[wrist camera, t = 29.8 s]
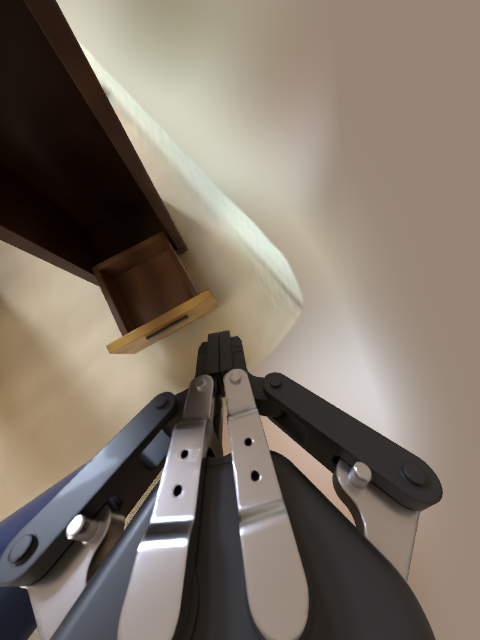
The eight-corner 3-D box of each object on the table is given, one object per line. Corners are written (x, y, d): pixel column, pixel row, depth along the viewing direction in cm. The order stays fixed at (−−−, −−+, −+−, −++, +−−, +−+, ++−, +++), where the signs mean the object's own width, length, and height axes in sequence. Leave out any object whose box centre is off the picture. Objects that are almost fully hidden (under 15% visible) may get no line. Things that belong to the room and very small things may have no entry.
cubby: (108, 291, 26) (-679, -79, 4) (81, 231, 27) (-552, -249, 6) (187, 249, 27) (-69, -235, 5) (156, 194, 28) (-133, -334, 7)
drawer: (135, 356, 22) (110, 356, 18) (102, 283, 24) (72, 268, 20) (219, 308, 23) (214, 298, 19) (181, 242, 25) (169, 220, 21)
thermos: (119, 494, 21) (-572, 1280, 3) (105, 444, 22) (-480, 828, 4) (165, 471, 21) (-223, 1060, 4) (149, 423, 22) (-216, 693, 5)
